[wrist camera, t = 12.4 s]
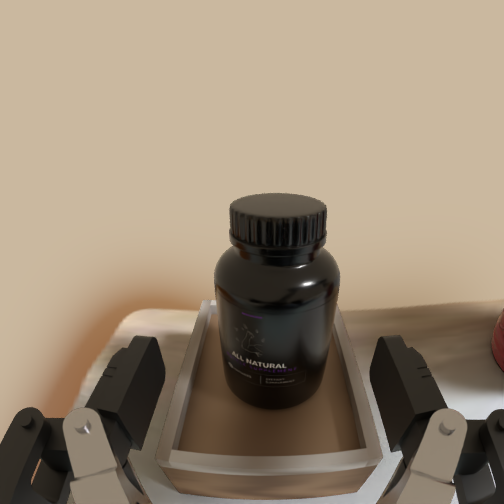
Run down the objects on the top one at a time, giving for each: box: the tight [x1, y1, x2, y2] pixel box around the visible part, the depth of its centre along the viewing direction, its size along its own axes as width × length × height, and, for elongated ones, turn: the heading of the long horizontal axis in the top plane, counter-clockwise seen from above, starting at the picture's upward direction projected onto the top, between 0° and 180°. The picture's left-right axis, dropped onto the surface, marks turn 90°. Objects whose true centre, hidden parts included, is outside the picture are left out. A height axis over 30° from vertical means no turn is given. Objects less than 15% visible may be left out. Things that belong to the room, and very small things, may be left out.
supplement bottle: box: [214, 193, 340, 410], centre depth 17 cm, size 7×7×12 cm
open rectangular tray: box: [155, 300, 383, 500], centre depth 20 cm, size 12×16×6 cm
